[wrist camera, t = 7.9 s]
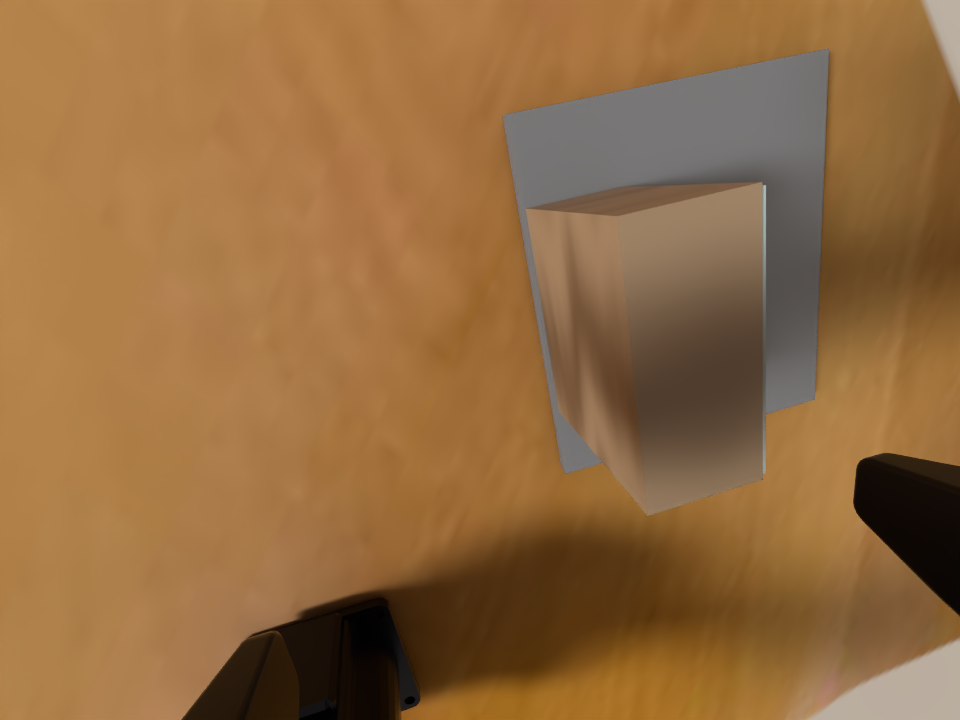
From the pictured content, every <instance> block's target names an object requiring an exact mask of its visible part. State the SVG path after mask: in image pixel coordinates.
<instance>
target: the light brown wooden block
mask: <svg viewBox="0 0 960 720" xmlns="http://www.w3.org/2000/svg"><path fill="white" fill-rule="evenodd" d="M526 215H527V221H528V227H529V233H530V239H531V245H532V251H533V257H534V263H535V269H536V275H537V281H538V288H539V294H540V300H541V306H542V312H543V318H544V324H545V330H546V336H547V342H548V348H549V354H550V361H551V367H552V373H553V379H554V385H555V391H556V397H557V403H558V409H559V412H560V413H561V414H562V416H563V417H564V418H565V419H566V420H567V422H568V423H569V424H570V425H571V426H572V427H573V429H574V430H575V431H576V432H577V433H578V434H579V436H580V437H581V438H582V439H583V440H584V442H585V443H586V444H587V445H588V446H589V447H590V449H591V450H592V451H593V452H594V453H595V454H596V456H597V457H598V458H599V459H600V460H601V462H602V463H603V464H604V465H605V466H606V467H607V469H608V470H609V471H610V472H611V473H612V474H613V476H614V477H615V478H616V479H617V480H618V482H619V483H620V484H621V485H622V486H623V487H624V489H625V490H626V491H627V492H628V493H629V494H630V496H631V497H632V498H633V499H634V500H635V502H636V503H637V504H638V505H639V506H640V507H641V509H642V510H643V511H644V512H645V513H646V514H647V516H650V515H653V514H656V513H659V512H662V511H665V510H669V509H672V508H675V507H678V506H681V505H684V504H687V503H691V502H694V501H697V500H700V499H703V498H706V497H709V496H713V495H716V494H719V493H722V492H725V491H728V490H732V489H735V488H738V487H741V486H744V485H747V484H750V483H754V482H757V481H760V480H763V474H764V473H766V185H762V182H746V183H718V184H691V185H663V186H636V187H617V188H613V189H609V190H604V191H600V192H596V193H591V194H587V195H582V196H578V197H574V198H569V199H565V200H561V201H556V202H552V203H548V204H543V205H539V206H535V207H530V208H526Z"/></svg>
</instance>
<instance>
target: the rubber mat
mask: <svg viewBox="0 0 960 720" xmlns="http://www.w3.org/2000/svg"><path fill="white" fill-rule="evenodd" d="M828 62H829V49H824V50H819V51H814V52H810V53H805V54H800V55H795V56H790V57H785V58H780V59H775V60H770V61H765V62H761V63H756V64H751V65H746V66H741V67H736V68H731V69H726V70H721V71H716V72H711V73H707V74H702V75H697V76H692V77H687V78H682V79H677V80H672V81H667V82H662V83H658V84H653V85H648V86H643V87H638V88H633V89H628V90H623V91H618V92H613V93H609V94H604V95H599V96H594V97H589V98H584V99H579V100H574V101H569V102H564V103H559V104H555V105H550V106H545V107H540V108H535V109H530V110H525V111H520V112H515V113H510V114H506V115H504V116H503V122H504V128H505V134H506V140H507V146H508V152H509V158H510V164H511V170H512V176H513V182H514V188H515V194H516V200H517V205H518V211H519V217H520V223H521V229H522V235H523V241H524V247H525V253H526V259H527V265H528V271H529V277H530V283H531V288H532V294H533V300H534V306H535V312H536V318H537V324H538V330H539V336H540V342H541V348H542V354H543V360H544V366H545V372H546V377H547V383H548V389H549V395H550V401H551V407H552V413H553V419H554V425H555V431H556V437H557V443H558V449H559V455H560V461H561V466H562V469H563V470H564V472H565V473H566V474H567V473H571V472H574V471H577V470H581V469H584V468H587V467H591V466H594V465H597V464H601V463H602V462H601V460H600V459H599V458H598V457H597V456H596V454H595V453H594V452H593V451H592V450H591V449H590V447H589V446H588V445H587V444H586V443H585V442H584V440H583V439H582V438H581V437H580V436H579V434H578V433H577V432H576V431H575V430H574V429H573V427H572V426H571V425H570V424H569V423H568V422H567V420H566V419H565V418H564V417H563V416H562V414H561V413H560V412H559V409H558V403H557V397H556V391H555V385H554V379H553V373H552V367H551V361H550V354H549V348H548V342H547V336H546V330H545V324H544V318H543V312H542V306H541V300H540V294H539V288H538V281H537V275H536V269H535V263H534V257H533V251H532V245H531V239H530V233H529V227H528V221H527V215H526V208H530V207H535V206H539V205H543V204H548V203H552V202H556V201H561V200H565V199H569V198H574V197H578V196H582V195H587V194H591V193H596V192H600V191H604V190H609V189H613V188H617V187H636V186H663V185H691V184H718V183H746V182H762V185H766V414H768V413H771V412H775V411H778V410H781V409H785V408H788V407H791V406H795V405H798V404H801V403H805V402H808V401H811V400H815V381H816V357H817V332H818V307H819V283H820V258H821V234H822V209H823V185H824V160H825V136H826V111H827V87H828Z"/></svg>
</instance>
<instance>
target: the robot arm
mask: <svg viewBox="0 0 960 720" xmlns="http://www.w3.org/2000/svg"><path fill="white" fill-rule="evenodd" d="M853 504H854V508H855V510H856V513H857V514H858V516H859V517H860V518H861V519H862V521H863V522H864V523H865V524H866V525H867V526H868V527H869V528H870V529H871V530H872V531H873V532H874V533H875V534H876V535H877V536H878V537H879V538H880V539H881V540H882V541H883V542H884V543H885V544H886V545H887V546H888V547H889V548H890V549H891V550H892V551H893V552H894V553H895V554H896V555H897V556H898V557H899V558H900V559H901V560H902V561H903V562H904V563H905V564H906V565H907V566H908V567H909V568H910V569H911V570H912V571H913V572H914V573H915V574H916V575H917V576H918V577H919V578H920V579H921V580H922V581H923V582H924V583H925V584H926V585H927V586H928V587H929V588H930V589H931V590H932V591H933V592H934V593H935V594H936V595H937V596H938V597H939V598H940V599H941V600H942V601H944V602H945V603H946V604H947V605H948V606H949V607H950V608H951V609H952V610H953V611H955V612H956V613H957V614H958V615H959V616H960V466H955V465H950V464H944V463H939V462H934V461H929V460H923V459H918V458H913V457H908V456H902V455H897V454H892V453H882V454H878V455H875V456H871V457H868V458H864V459H862V460H861V461H860V462H859V463H858V465H857V469H856V478H855V488H854V498H853ZM376 610H382V611H380V612H375V611H376ZM419 702H420V690H419V686H418V683H417V681H416V678H415V675H414V672H413V669H412V666H411V664H410V661H409V658H408V655H407V652H406V649H405V647H404V644H403V641H402V638H401V635H400V632H399V630H398V627H397V624H396V621H395V618H394V615H393V613H392V610H391V607H390V604H389V603H388V601H387V600H385V599H382V598H378V599H373V600H370V601H367V602H364V603H361V604H357V605H354V606H351V607H348V608H345V609H341V610H338V611H335V612H332V613H329V614H326V615H322V616H319V617H316V618H313V619H310V620H307V621H303V622H300V623H297V624H294V625H291V626H288V627H284V628H281V629H278V630H275V631H270V632H266V633H263V634H260V635H256V636H253V637H250V638H248V639H246V640H245V641H243V642H242V643H241V644H240V646H239V647H238V648H237V650H236V651H235V652H234V653H233V655H232V656H231V657H230V658H229V660H228V661H227V662H226V664H225V665H224V666H223V667H222V669H221V670H220V671H219V672H218V674H217V675H216V676H215V678H214V679H213V680H212V681H211V683H210V684H209V685H208V686H207V688H206V689H205V690H204V692H203V693H202V694H201V695H200V697H199V698H198V699H197V700H196V702H195V703H194V704H193V706H192V707H191V708H190V709H189V711H188V712H187V713H186V714H185V716H184V717H183V718H182V720H401V711H404V710H407V709H409V708H412V707H414V706H416V705H417V704H418V703H419Z"/></svg>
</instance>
